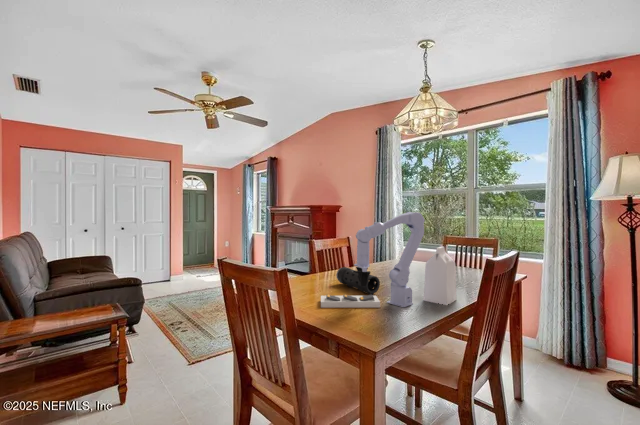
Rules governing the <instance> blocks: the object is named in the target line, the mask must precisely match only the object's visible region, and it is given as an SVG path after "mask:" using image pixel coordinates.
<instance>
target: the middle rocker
mask: <svg viewBox="0 0 640 425" xmlns="http://www.w3.org/2000/svg"><path fill="white" fill-rule="evenodd" d="M342 296H343V298H344V299H346V300H350V301H357V299H356V297H352V296H353V295H348V294H345V293H343V295H342Z"/></svg>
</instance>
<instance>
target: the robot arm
mask: <svg viewBox="0 0 640 425" xmlns="http://www.w3.org/2000/svg"><path fill="white" fill-rule="evenodd" d="M425 221H426V219H425V218H424V216H423V214H422V213H421V212H418V211H416V212H414V211H406V212H405V213H401V214H398V215H397V216H395V217H393V218H391V219H388V220H386V221H385V222H383V223H382V222H379V221H378V222H376V221H375V222H373V224H372V225H369V226H365V227H364V228H360V229H358V230H357V232H356V234H355V238H356V240H357V241H356V242H357V244H356V263H354V264H353V265H354V266H355V269H356V271H358V276H359V281H360V282H361V286H366V284H367V280H368V277H369V275H371V271H368V269H369V267H370V241H371V240H372V239H374V238H377V237H378V236H379V237H380V236H381V235H384V234H385V232H386V230H389V229H390V228H391V229H392V228H393V227H396V226H397V225H401V224H403V225H404V224H405V225H406V226H407V227H408V229H409V230H410V232H411V233H410V236H409V238H408V240H407V242H406V245H405V247H404V249H403V252H402V254H401V256H400V258H399V261H398V263H395V265H394V267H393V268H392V269H391V270H390V272H389V273H388V276H389V279H390V280H391V282H390V300H388V301H386V303H387V304H390V305H393V306H396V307H400V308H406V307H409V306H411V305H414V303H413V289H412V287H410V286H408V285H407V284H408V283H409V277H410V273H411V272H410V266H411V264H412V261H413V259H414V258H415V256H416V253H417V250H418V249H419V246H420V244H421V242H422V240H423V237H424V235H425V224H424V223H425Z"/></svg>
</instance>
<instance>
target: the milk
mask: <svg viewBox="0 0 640 425" xmlns="http://www.w3.org/2000/svg"><path fill="white" fill-rule="evenodd" d="M456 269H457V268H456V262H455V261H454V259H453V258H452V257H451V256H450V255H449V254H448V253H447V252H446V248H445V246H439V247H436V251H435V254H433V256H431V257H430V258H429V259H427V260H426V263H425V269H424V270H425V271H424V283H423V284H424V285H423V298H422V299H423V301H425V302H428V303H429V302H430V303H434V304H438V303H439V305H442V304H443V305H442V306H448V304H449V305H451V304H452V303H454V302H455V301H457V272H456Z"/></svg>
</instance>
